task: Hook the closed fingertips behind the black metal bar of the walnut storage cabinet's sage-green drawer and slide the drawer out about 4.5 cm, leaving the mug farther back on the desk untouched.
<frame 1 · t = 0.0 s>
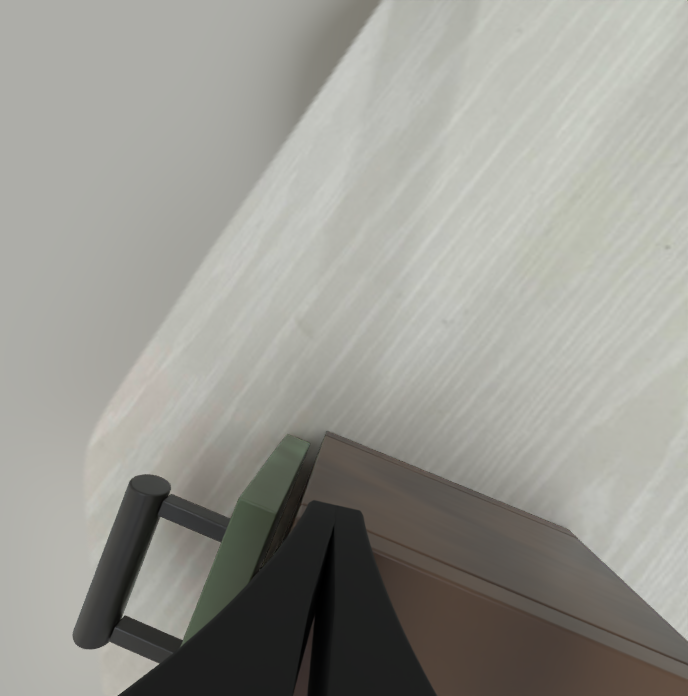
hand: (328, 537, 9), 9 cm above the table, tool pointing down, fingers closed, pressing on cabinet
drawer: (307, 618, 14), point 4 cm above the table, slide at 0.5 cm
cabinet: (401, 586, 18), on the table
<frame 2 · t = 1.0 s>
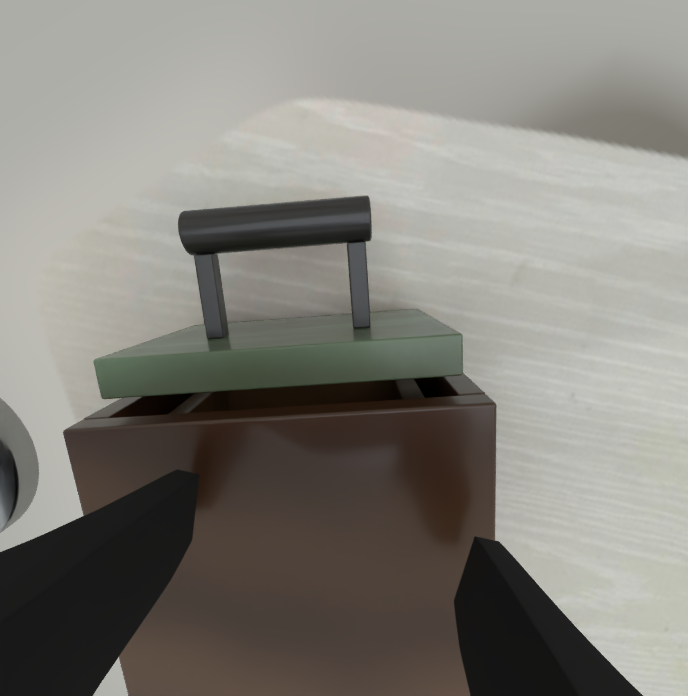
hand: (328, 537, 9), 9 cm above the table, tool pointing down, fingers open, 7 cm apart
drawer: (303, 421, 14), point 4 cm above the table, slide at 0.5 cm
cabinet: (321, 465, 19), on the table
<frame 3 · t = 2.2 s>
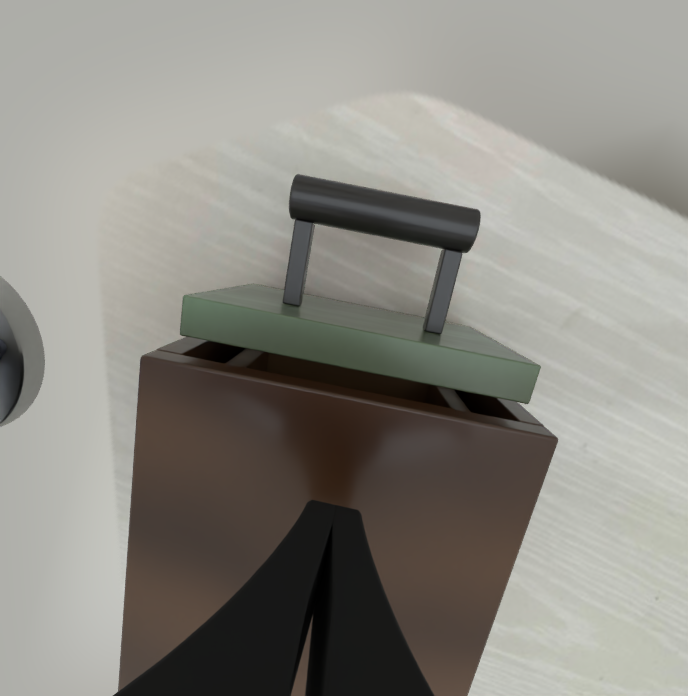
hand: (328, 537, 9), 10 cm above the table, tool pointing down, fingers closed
drawer: (343, 404, 15), point 4 cm above the table, slide at 0.5 cm
cabinet: (331, 449, 20), on the table
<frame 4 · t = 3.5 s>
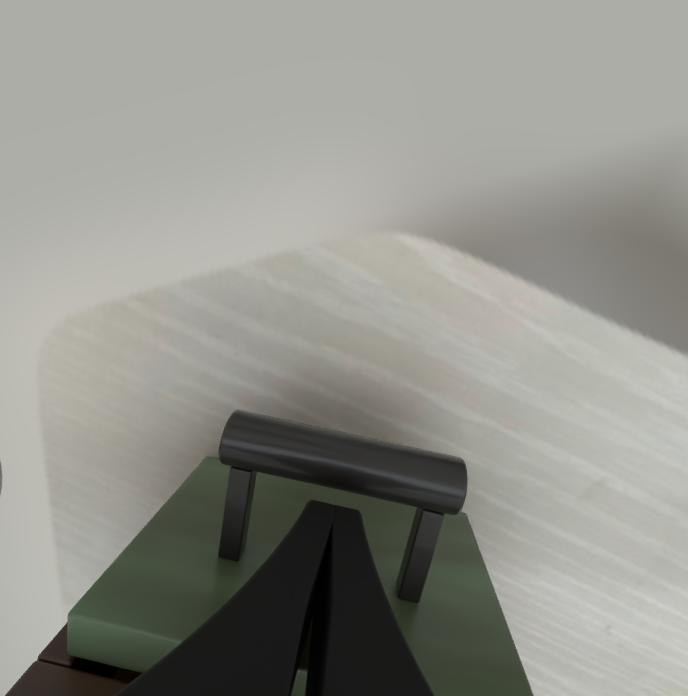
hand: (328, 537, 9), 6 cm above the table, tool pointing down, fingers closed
drawer: (303, 642, 12), point 4 cm above the table, slide at 0.1 cm, touching gripper
cabinet: (306, 615, 17), on the table
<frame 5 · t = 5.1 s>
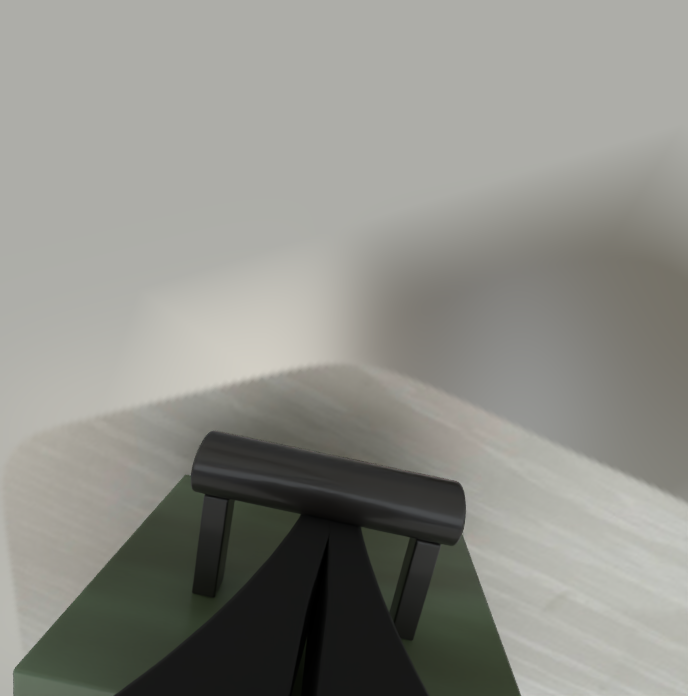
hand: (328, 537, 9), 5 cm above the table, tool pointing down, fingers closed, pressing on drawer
drawer: (287, 679, 11), point 4 cm above the table, slide at 4.6 cm, touching gripper
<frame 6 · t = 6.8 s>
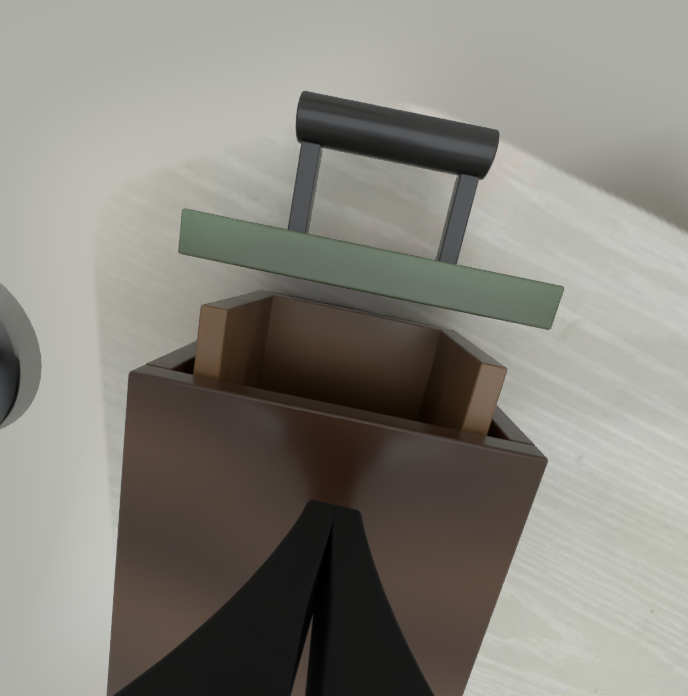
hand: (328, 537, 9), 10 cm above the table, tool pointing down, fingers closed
drawer: (350, 349, 14), point 4 cm above the table, slide at 3.3 cm
cabinet: (326, 458, 20), on the table
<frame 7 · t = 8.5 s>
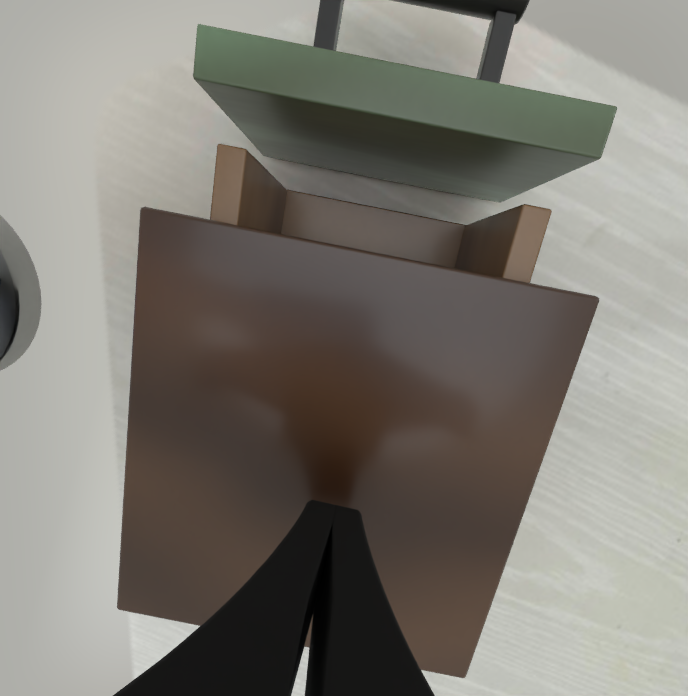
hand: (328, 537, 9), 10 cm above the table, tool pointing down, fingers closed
drawer: (372, 231, 13), point 4 cm above the table, slide at 3.3 cm
cabinet: (341, 381, 19), on the table
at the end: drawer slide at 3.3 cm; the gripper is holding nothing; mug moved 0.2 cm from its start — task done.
